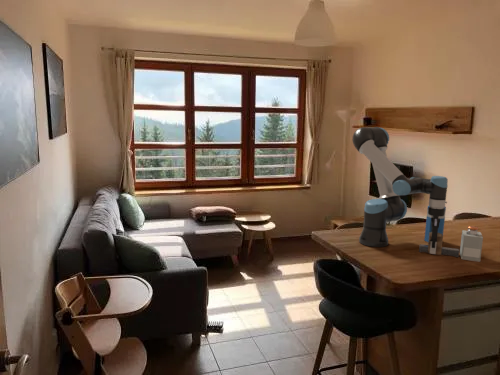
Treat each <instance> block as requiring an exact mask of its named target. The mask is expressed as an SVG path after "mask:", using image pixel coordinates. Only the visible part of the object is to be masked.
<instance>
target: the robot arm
mask: <svg viewBox="0 0 500 375" xmlns="http://www.w3.org/2000/svg"><path fill="white" fill-rule="evenodd" d="M389 141H390V135H389V132H388V131H387V129H384V128H383V127H378V126H374V127H372V126H369V127H368V126H367V127H366V126H365V127H359V128H357V129H356V130H355V131H354V133H353V135H352V144H353V146H354V148H355V149H356V150H357V152H358V153H359V154H360V155H361V154H362V155H364V156H365V157H366V158H367V159H368V160H369V162H370V163H371V164H372V168H373V172H374V177H375V180H376V185H377V187H378V188H377V189H378V193H379V197H378V198H376V199H375V198H372V199H369V200H367V201H366V202H365V203H364V210H363V211H364V212H363V228H362V231H361V233H360V235H359V239H358V242H359V243H360V244H362V245H364V246H368V247H373V248H377V247H378V248H384V247H386V246H387V247H388V245H389V238H388V234H387V231H386V230H387V223H390V222H396V221H399V220H401V219H404V217H405V216H406V214H407V212H408V207H407V203H406V202H405V200H403V199H401V196H407V195H412V194H413V195H414V194H420V193H421V194H425V195H429V197H428V206H430V207H429V208H428V207H427V208H428V214H429V215H431V216H432V217H433V218H431V227H432V230H431V233H432V237H431V240H430V241H431V243H430V253H429V254H430V255H431V254H432V255H437V254H436V244H437V233H438V228H439V223H440V218H438V217H439V216H444V214H445V215H446V212H445V209H444V207H446V204H447V203H448V201H446V200H447V194H448V193H447V191H448V177H446V176H443V175H442V176H441V175H433V176H431V178H425V177H419V176H416V177H415V176H411V177H410V178H408V177H406V175H404V173H403V172H402V171H401V170H400V169H399V168H398V167H397V166H396V165H395V164H394V163H393V162H392V161H391V160H390V159H389V158H388V155H387V150H388V147H389V146H388V144H389Z"/></svg>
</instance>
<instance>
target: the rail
mask: <svg viewBox="0 0 500 375" xmlns="http://www.w3.org/2000/svg"><path fill="white" fill-rule="evenodd" d="M418 246H419V248H418V249H419V250H418V253H427V254H429V253H428V244H422V243H420V244H419V245H418ZM441 256H450V257H455V258H460V248H454V247H445V246H442V250H441Z"/></svg>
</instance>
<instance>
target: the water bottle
mask: <svg viewBox="0 0 500 375" xmlns="http://www.w3.org/2000/svg"><path fill="white" fill-rule="evenodd" d="M429 207H430V206H429V205H427V209H426V211H427V212H426V221H425V230H424V231H425V232H424V241H425V242H427V243H428V242H429V232H430V233H431V230H432V227H431V218H433V217H432V216H431V215H429V214H428V208H429ZM444 209H445V214H444V216H439V217H438V218H440V223H439V228H438V233H440V234H442V235H443V236H444V230H445V220H446V210H447V207H446V206H445V207H444Z"/></svg>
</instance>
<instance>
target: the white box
mask: <svg viewBox="0 0 500 375" xmlns="http://www.w3.org/2000/svg"><path fill="white" fill-rule="evenodd" d="M460 237H461V238H460V248H459V257H460V258H461V260H464V261H472V262H481V259H482V250H483V242H484V237H483V234H482V232H480V231H477V236H476V235H468V230H465V229H464V230H463V229H462V231H461V236H460Z"/></svg>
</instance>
